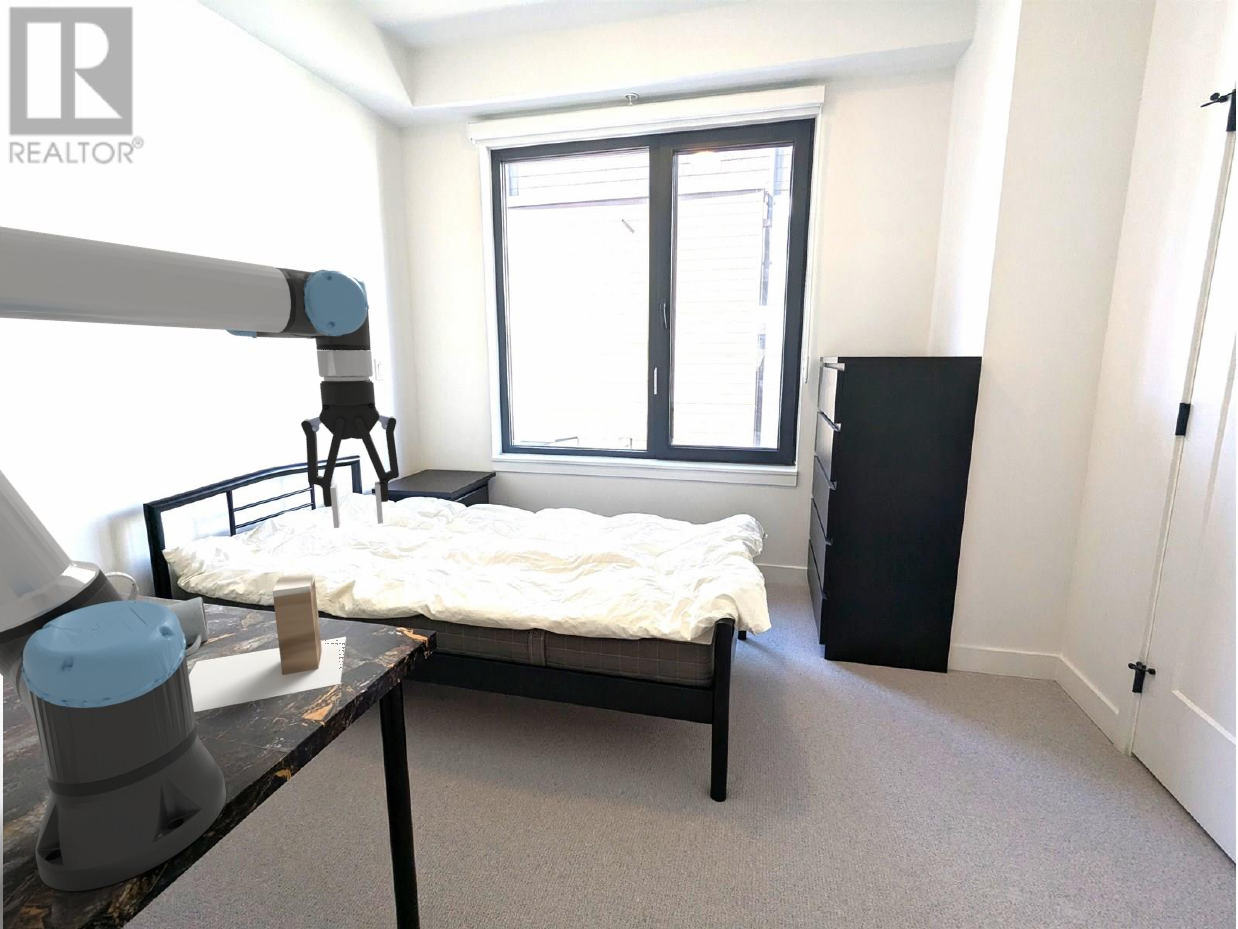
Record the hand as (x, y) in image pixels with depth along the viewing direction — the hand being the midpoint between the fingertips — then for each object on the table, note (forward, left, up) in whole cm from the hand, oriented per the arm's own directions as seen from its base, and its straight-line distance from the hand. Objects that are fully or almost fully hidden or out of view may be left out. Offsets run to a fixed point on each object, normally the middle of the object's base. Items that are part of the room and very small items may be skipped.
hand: (359, 523), depth 91 cm
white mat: (-1, +15, -23) cm, 27 cm away
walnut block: (0, +10, -22) cm, 25 cm away
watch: (+26, +43, -23) cm, 55 cm away
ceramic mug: (+15, +30, -23) cm, 40 cm away
